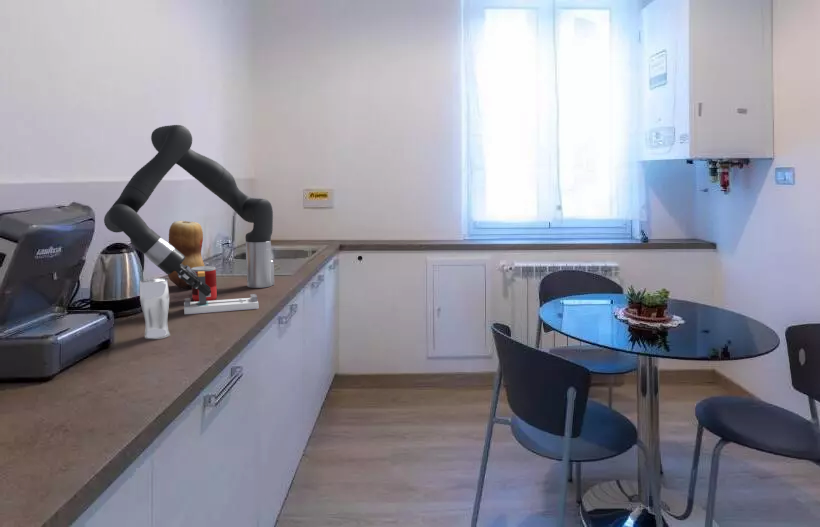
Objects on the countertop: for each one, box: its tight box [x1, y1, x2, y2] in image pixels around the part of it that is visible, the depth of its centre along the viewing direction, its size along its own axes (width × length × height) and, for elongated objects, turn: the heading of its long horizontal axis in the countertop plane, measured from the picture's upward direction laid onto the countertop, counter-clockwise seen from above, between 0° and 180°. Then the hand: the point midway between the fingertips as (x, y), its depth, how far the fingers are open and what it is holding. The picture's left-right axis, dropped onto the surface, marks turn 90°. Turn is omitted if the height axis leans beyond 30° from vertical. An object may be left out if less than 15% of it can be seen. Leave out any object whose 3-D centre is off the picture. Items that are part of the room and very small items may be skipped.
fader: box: [198, 271, 206, 304], centre depth 180 cm, size 2×4×10 cm, turn 21°
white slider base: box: [183, 293, 260, 315], centre depth 183 cm, size 22×8×4 cm, turn 111°
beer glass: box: [139, 277, 171, 340], centre depth 150 cm, size 7×7×15 cm
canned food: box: [191, 265, 218, 302], centre depth 195 cm, size 8×8×11 cm
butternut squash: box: [167, 220, 205, 289], centre depth 216 cm, size 14×13×25 cm
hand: (208, 292), depth 181 cm, fingers closed on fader, 4 cm apart
